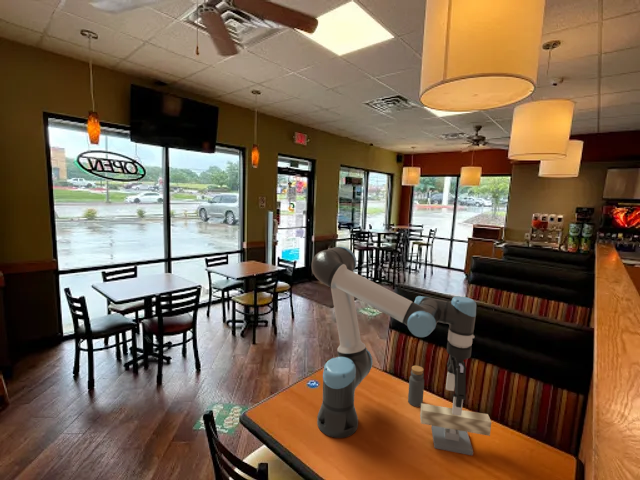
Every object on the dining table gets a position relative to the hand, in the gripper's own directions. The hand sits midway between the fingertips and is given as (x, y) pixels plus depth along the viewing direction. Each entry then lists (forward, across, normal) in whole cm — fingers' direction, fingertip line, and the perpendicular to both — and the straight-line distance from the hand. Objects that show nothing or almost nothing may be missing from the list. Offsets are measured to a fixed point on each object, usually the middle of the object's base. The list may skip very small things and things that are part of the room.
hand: (453, 401), depth 109 cm
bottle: (+15, +19, +10) cm, 26 cm away
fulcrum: (+15, 0, -1) cm, 15 cm away
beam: (+9, 0, -1) cm, 9 cm away
